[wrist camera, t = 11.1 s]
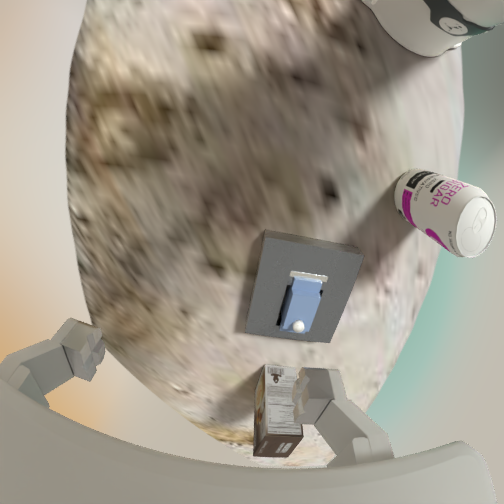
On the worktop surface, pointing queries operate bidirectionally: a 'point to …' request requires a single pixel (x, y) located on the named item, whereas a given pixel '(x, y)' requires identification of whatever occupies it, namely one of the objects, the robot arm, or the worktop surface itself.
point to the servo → (300, 305)
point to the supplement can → (447, 211)
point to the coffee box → (275, 413)
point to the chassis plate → (307, 267)
